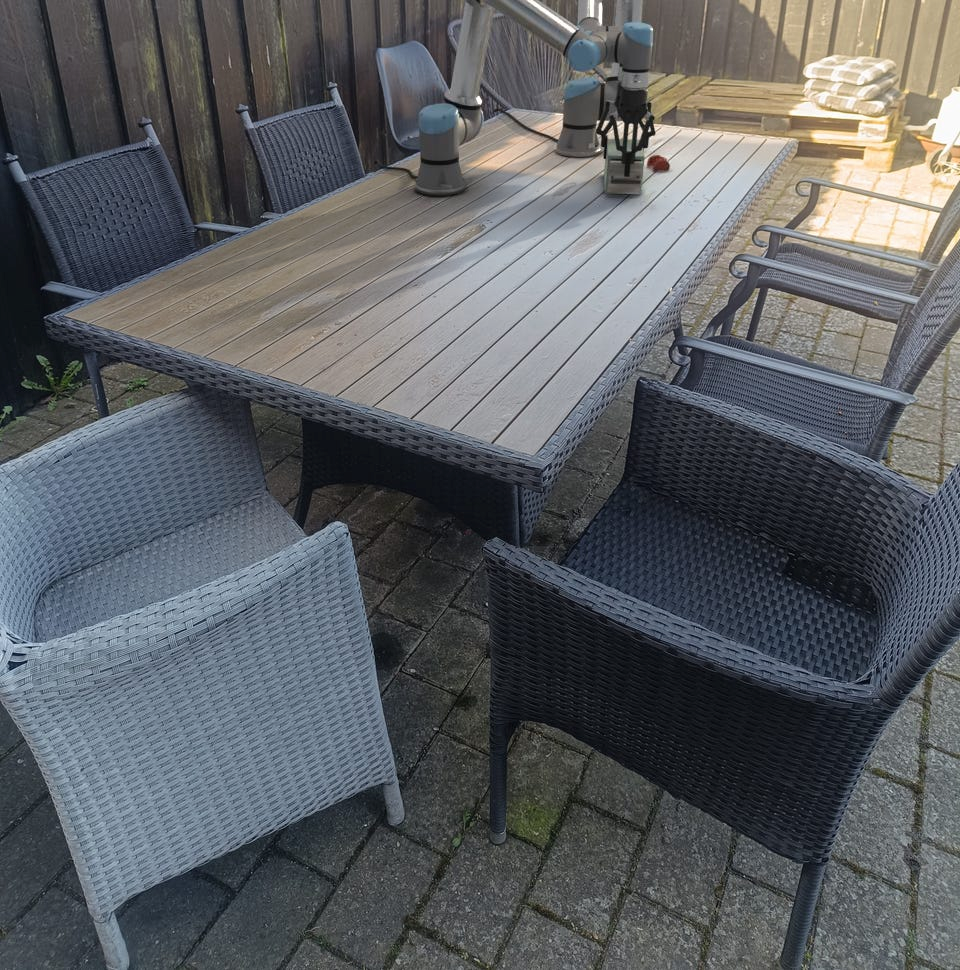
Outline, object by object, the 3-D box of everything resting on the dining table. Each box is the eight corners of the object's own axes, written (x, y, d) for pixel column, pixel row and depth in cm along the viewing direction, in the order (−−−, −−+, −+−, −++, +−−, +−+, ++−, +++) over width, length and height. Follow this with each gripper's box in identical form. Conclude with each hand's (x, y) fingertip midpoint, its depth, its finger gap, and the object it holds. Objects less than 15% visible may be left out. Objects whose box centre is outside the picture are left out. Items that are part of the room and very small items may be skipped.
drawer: (640, 199, 247) (643, 167, 242) (607, 198, 248) (610, 166, 243) (636, 176, 267) (639, 146, 261) (606, 175, 267) (608, 145, 262)
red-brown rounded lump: (661, 151, 278) (672, 157, 272) (660, 164, 281) (670, 171, 275) (646, 153, 277) (656, 159, 271) (645, 166, 280) (654, 173, 274)
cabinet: (640, 194, 254) (644, 156, 248) (604, 193, 255) (608, 155, 249) (637, 175, 271) (641, 139, 264) (603, 174, 271) (606, 138, 265)
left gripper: (610, 90, 230) (604, 178, 244) (659, 90, 229) (649, 179, 243) (610, 85, 236) (604, 171, 250) (657, 85, 235) (648, 172, 249)
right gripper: (591, 83, 249) (585, 160, 262) (670, 85, 247) (661, 162, 260) (591, 78, 255) (585, 154, 268) (668, 80, 253) (659, 156, 266)
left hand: (626, 175), depth 246 cm, fingers closed
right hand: (623, 158), depth 264 cm, fingers closed on cabinet, 11 cm apart
